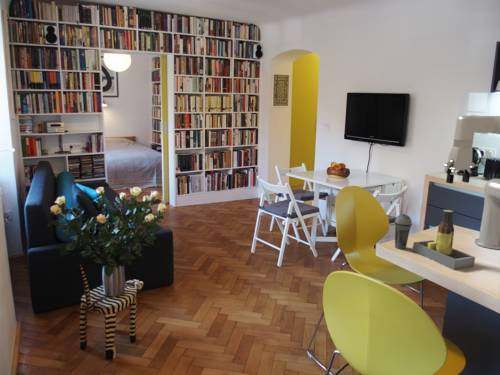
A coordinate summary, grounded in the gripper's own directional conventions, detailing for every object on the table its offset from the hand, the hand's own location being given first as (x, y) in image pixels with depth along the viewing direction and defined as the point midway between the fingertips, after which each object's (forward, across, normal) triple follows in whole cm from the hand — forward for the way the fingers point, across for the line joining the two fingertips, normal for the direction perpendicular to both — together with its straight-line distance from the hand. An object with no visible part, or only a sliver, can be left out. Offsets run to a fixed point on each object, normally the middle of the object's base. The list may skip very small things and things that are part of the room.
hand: (457, 182), depth 183 cm
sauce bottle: (+30, +15, +10) cm, 34 cm away
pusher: (+29, +15, +4) cm, 33 cm away
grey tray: (+30, +15, +10) cm, 35 cm away
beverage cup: (+31, +23, -6) cm, 39 cm away
